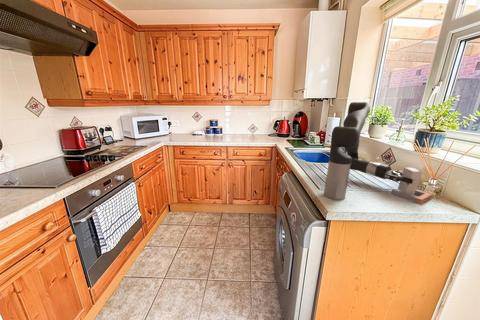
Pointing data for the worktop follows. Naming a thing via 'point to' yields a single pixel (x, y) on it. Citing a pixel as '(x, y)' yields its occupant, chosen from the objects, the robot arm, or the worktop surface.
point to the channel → (422, 196)
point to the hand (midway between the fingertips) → (415, 180)
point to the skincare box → (410, 174)
